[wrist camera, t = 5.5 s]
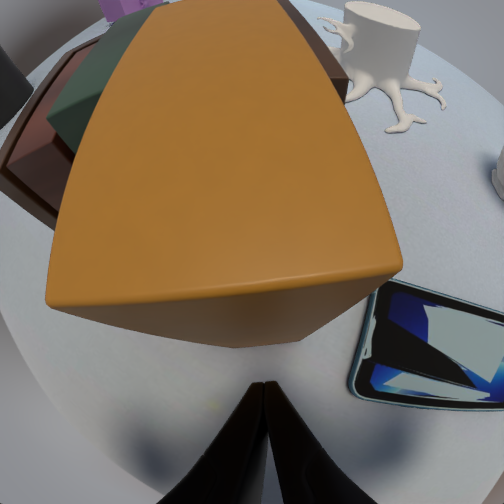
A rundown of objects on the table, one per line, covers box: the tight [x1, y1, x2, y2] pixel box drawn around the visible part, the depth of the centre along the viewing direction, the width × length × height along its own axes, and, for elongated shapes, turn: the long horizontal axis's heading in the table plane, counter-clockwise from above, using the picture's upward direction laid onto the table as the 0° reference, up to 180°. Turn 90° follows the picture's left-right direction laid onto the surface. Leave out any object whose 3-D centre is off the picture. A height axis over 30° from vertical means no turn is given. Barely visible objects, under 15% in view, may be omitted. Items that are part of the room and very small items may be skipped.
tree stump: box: [317, 1, 446, 133], centre depth 20 cm, size 20×19×8 cm
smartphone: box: [349, 278, 504, 411], centre depth 13 cm, size 7×1×15 cm
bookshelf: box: [0, 0, 349, 231], centre depth 14 cm, size 11×14×13 cm
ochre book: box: [45, 0, 403, 348], centre depth 11 cm, size 10×4×14 cm, turn 6°
